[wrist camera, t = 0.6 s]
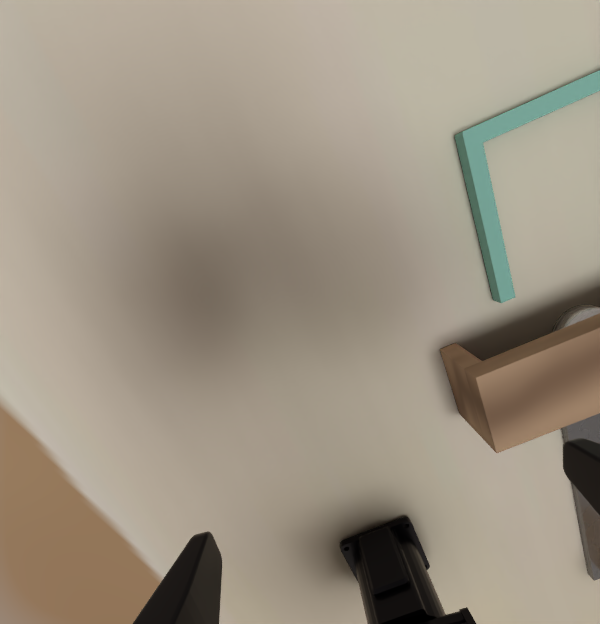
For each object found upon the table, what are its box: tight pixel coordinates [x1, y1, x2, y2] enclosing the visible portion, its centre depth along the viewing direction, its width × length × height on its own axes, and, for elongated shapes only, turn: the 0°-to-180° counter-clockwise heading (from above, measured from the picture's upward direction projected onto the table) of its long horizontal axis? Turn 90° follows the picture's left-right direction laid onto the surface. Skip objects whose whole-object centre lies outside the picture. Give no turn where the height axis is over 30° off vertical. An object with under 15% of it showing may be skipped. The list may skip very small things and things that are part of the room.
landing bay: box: [455, 70, 600, 303], centre depth 19 cm, size 11×11×1 cm
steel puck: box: [552, 304, 600, 333], centre depth 22 cm, size 4×4×2 cm
